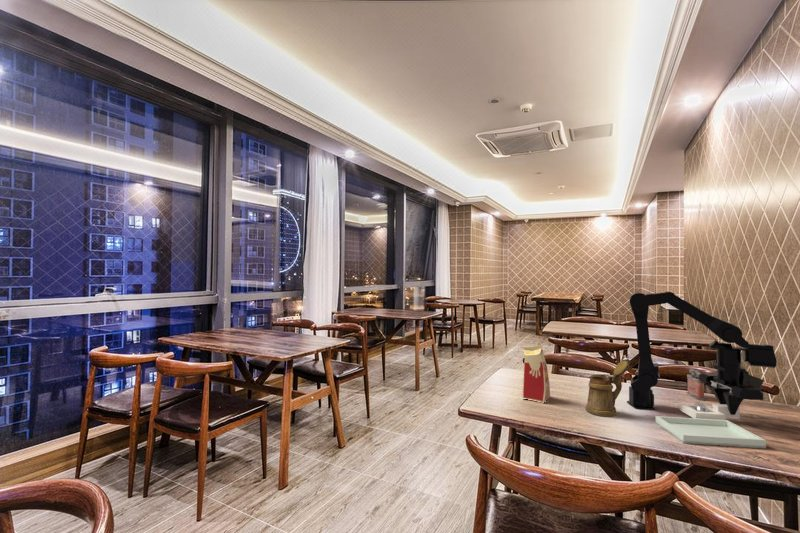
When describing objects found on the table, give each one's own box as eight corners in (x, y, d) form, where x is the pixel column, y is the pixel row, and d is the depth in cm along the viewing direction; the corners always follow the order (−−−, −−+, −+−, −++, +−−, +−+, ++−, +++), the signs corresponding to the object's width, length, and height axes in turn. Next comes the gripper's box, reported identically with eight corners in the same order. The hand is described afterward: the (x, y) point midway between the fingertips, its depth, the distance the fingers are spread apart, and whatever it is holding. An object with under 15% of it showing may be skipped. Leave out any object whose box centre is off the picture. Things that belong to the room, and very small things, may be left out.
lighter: (707, 401, 134) (707, 373, 134) (697, 400, 134) (696, 373, 135) (694, 394, 142) (694, 368, 142) (684, 393, 142) (684, 367, 142)
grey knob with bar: (699, 421, 115) (699, 405, 115) (692, 417, 118) (692, 401, 118) (708, 421, 114) (708, 405, 115) (701, 417, 118) (700, 402, 118)
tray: (683, 443, 100) (683, 435, 100) (655, 423, 113) (655, 416, 113) (766, 448, 97) (765, 440, 97) (727, 427, 110) (727, 420, 110)
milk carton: (550, 396, 137) (550, 343, 137) (545, 404, 129) (545, 347, 129) (525, 392, 142) (525, 340, 142) (519, 399, 134) (519, 344, 134)
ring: (695, 419, 113) (695, 408, 113) (679, 410, 120) (679, 399, 121) (746, 422, 111) (746, 410, 111) (726, 412, 119) (726, 401, 119)
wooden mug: (636, 419, 116) (636, 362, 117) (591, 416, 118) (590, 360, 119) (623, 408, 125) (623, 356, 125) (581, 406, 127) (581, 354, 127)
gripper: (784, 372, 105) (785, 427, 105) (734, 357, 123) (734, 404, 123) (741, 370, 106) (741, 424, 106) (698, 356, 125) (698, 402, 125)
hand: (729, 413), depth 115 cm, fingers closed on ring, 2 cm apart
